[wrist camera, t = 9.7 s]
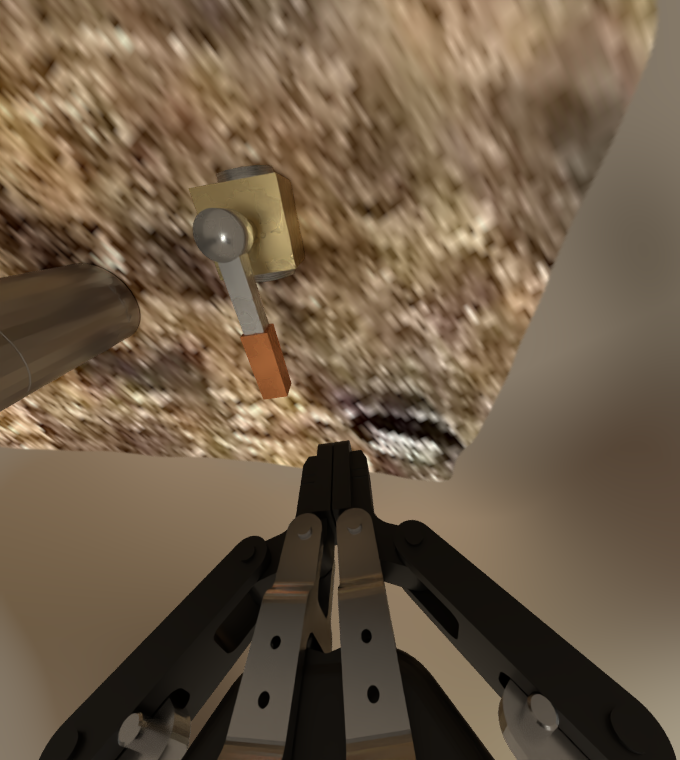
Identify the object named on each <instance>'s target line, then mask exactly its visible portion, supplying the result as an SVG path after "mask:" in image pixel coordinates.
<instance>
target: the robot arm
mask: <svg viewBox="0 0 680 760" xmlns="http://www.w3.org/2000/svg"><path fill="white" fill-rule="evenodd" d="M139 322H140V313H139V308H138V305H137V303H136V300H135V298H134V297H133V295H132V293H131V292H130V290H129V289H128V288H127V287H126V286H125V284H124V283H123V282H121V281H120V280H119V279H118V278H117V277H116V276H114V275H113V274H111V273H110V272H108V271H107V270H104V269H102V268H100V267H98V266H94V265H91V264H83V263H78V264H73V265H67V266H62V267H56V268H51V269H45V270H39V271H34V272H29V273H24V274H19V275H13V276H8V277H3V278H0V411H2V410H4V409H5V408H7V407H9V406H11V405H12V404H14V403H16V402H17V401H19V400H21V399H23V398H24V397H26V396H27V395H29V394H31V393H33V392H34V391H36V390H38V389H40V388H41V387H43V386H45V385H46V384H48V383H50V382H52V381H53V380H55V379H57V378H59V377H60V376H62V375H64V374H66V373H67V372H69V371H71V370H72V369H74V368H76V367H78V366H79V365H81V364H83V363H85V362H86V361H88V360H90V359H92V358H93V357H95V356H97V355H98V354H100V353H102V352H104V351H105V350H107V349H109V348H111V347H113V346H114V345H116V344H118V343H119V342H121V341H123V340H125V339H126V338H128V337H130V336H131V335H132V334H134V332H135V331H136V330H137V328H138V325H139ZM335 545H337V546H338V560H339V561H338V562H339V577H340V585H339V587H338V608H339V623H340V643H341V648H339V649H337V650H334V651H332V631H331V612H332V599H333V587H334V574H335V560H334V548H335ZM384 582H387V583H391V584H394V585H397V586H400V587H402V588H403V589H404V591H405V592H406V593H407V594H408V595H409V596H410V597H411V599H412V600H413V601H414V602H415V603H416V604H417V605H418V606H419V607H420V609H421V610H422V611H423V612H424V613H425V614H426V615H427V616H428V617H429V619H430V620H431V621H432V622H433V623H434V624H435V625H436V626H437V627H438V629H439V630H440V631H441V632H442V633H443V634H444V635H445V636H446V637H447V638H448V639H449V641H450V642H451V643H452V644H453V645H454V646H455V647H456V648H457V650H458V651H459V652H460V653H461V654H462V655H463V656H464V657H465V658H466V660H467V661H468V662H469V663H470V664H471V665H472V666H473V667H474V668H475V669H476V671H477V672H478V673H479V674H480V675H481V676H482V677H483V678H484V679H485V681H486V682H487V683H488V684H489V685H490V686H491V687H492V688H493V689H494V691H495V692H496V693H497V694H498V695H499V696H500V697H501V700H500V703H499V710H498V716H499V723H500V728H501V731H502V734H503V737H504V739H505V741H506V743H507V745H508V747H509V748H510V750H511V751H512V753H513V754H514V756H515V757H516V758H517V760H676V756H675V753H674V750H673V748H672V745H671V743H670V741H669V739H668V737H667V735H666V733H665V732H664V730H663V729H662V727H661V726H660V724H659V723H658V721H657V720H656V719H655V717H653V715H652V714H651V713H650V712H649V711H648V709H646V707H645V706H643V704H641V703H640V702H639V701H638V700H637V699H636V698H634V697H633V696H632V695H631V694H630V693H628V692H627V691H626V690H625V689H624V688H622V687H621V686H620V685H619V684H618V683H616V682H615V681H614V680H613V679H612V678H610V677H609V676H608V675H607V674H605V673H604V672H603V671H602V670H601V669H600V668H598V667H597V666H596V665H595V664H593V663H592V662H591V661H590V660H589V659H587V658H586V657H585V656H584V655H583V654H581V653H580V652H579V651H578V650H577V649H575V648H574V647H573V646H572V645H570V644H569V643H568V642H567V641H566V640H564V639H563V638H562V637H561V636H560V635H558V634H557V633H556V632H555V631H554V630H552V629H551V628H550V627H549V626H547V625H546V624H545V623H544V622H542V621H541V620H540V619H539V618H538V617H537V616H535V615H534V614H533V613H532V612H530V611H529V610H528V609H527V608H526V607H524V606H523V605H522V604H521V603H520V602H518V601H517V600H516V599H515V598H514V597H512V596H511V595H510V594H509V593H508V592H506V591H505V590H504V589H503V588H501V587H500V586H499V585H498V584H496V583H495V582H494V581H493V580H492V579H490V578H489V577H488V576H487V575H486V574H485V573H483V572H482V571H481V570H480V569H478V568H477V567H476V566H475V565H474V564H472V563H471V562H470V561H469V560H467V559H466V558H465V557H464V556H463V555H461V554H460V553H459V552H458V551H457V550H456V549H454V548H453V547H452V546H451V545H449V544H448V543H447V542H446V541H445V540H443V539H442V538H441V537H440V536H439V535H437V534H436V533H435V532H434V531H432V530H431V529H430V528H429V527H428V526H426V525H425V524H424V523H422V522H419V521H415V520H408V521H405V522H403V523H401V524H400V525H399V526H398V525H394V524H389V523H386V522H384V521H382V520H380V519H379V518H378V517H377V516H376V515H375V514H374V508H373V499H372V490H371V481H370V475H369V469H368V464H367V458H366V456H365V455H364V454H363V452H362V451H361V450H358V451H352V450H351V445H350V441H349V440H348V441H341V442H334V443H326V444H319V445H318V450H317V456H312V457H308V459H307V461H306V462H305V464H304V466H303V471H302V479H301V486H300V492H299V499H298V505H297V513H296V517H295V519H294V520H293V521H292V522H291V523H290V524H289V527H288V529H287V530H286V531H285V532H283V533H282V534H280V535H278V536H276V537H273V538H271V539H269V540H267V541H264V539H263V538H261V537H259V536H250V537H248V538H245V539H243V540H242V541H241V542H240V543H238V545H236V546H235V547H234V549H233V550H232V551H231V552H230V553H229V554H228V555H227V556H226V557H225V558H224V559H223V560H222V561H221V562H220V563H219V564H218V565H217V566H216V567H215V568H214V569H213V570H212V571H211V572H210V573H209V574H208V575H207V576H206V578H204V579H203V580H202V581H201V583H199V584H198V586H197V587H196V588H195V589H194V590H193V591H192V592H191V593H190V594H189V595H188V596H187V597H186V598H185V599H184V600H183V601H182V602H181V603H180V604H179V605H178V606H177V607H176V608H175V609H174V610H173V611H172V612H171V613H170V614H169V615H168V617H166V618H165V619H164V620H163V622H162V623H161V624H160V625H159V626H158V627H157V628H156V629H155V630H154V631H153V632H152V633H151V634H150V635H149V636H148V637H147V638H146V639H145V640H144V641H143V642H142V643H141V644H140V645H139V646H138V647H137V648H136V649H135V650H134V651H133V652H132V653H131V654H130V655H129V656H128V657H127V658H126V660H125V661H124V662H123V663H122V664H121V665H120V666H119V667H118V668H117V669H116V670H115V671H114V672H113V673H112V674H111V675H110V676H109V677H108V678H107V679H106V680H105V681H104V682H103V683H102V684H101V685H100V686H99V687H98V688H97V689H96V690H95V691H94V693H92V694H91V696H90V697H89V698H88V699H87V700H86V701H85V702H84V703H83V704H82V705H81V706H80V707H79V708H78V709H77V710H76V711H75V712H74V713H73V714H72V715H71V716H70V717H69V718H68V719H67V720H66V721H65V722H64V723H63V724H62V726H61V727H60V728H59V729H58V730H57V731H56V733H55V734H54V735H53V736H52V738H51V739H50V741H49V742H48V744H47V745H46V747H45V749H44V751H43V752H42V754H41V757H40V759H39V760H495V759H494V758H493V757H492V755H491V754H490V753H489V752H488V750H487V749H486V747H485V746H484V745H483V743H482V742H481V741H480V739H479V738H478V737H477V735H476V734H475V732H474V731H473V730H472V729H471V727H470V726H469V724H468V723H467V722H466V720H465V719H464V718H463V716H462V715H461V714H460V712H459V711H458V710H457V708H456V707H455V706H454V704H453V703H452V702H451V700H450V699H449V698H448V696H447V695H446V694H445V692H444V691H443V689H442V688H441V687H440V685H439V684H438V683H437V681H436V680H435V679H434V677H433V676H432V675H431V673H430V672H429V671H428V670H427V669H426V668H425V667H424V666H423V665H422V664H421V663H420V662H419V661H417V660H416V659H415V658H414V657H412V656H411V655H409V654H408V653H406V652H404V651H402V650H400V649H397V648H396V643H395V637H394V632H393V627H392V621H391V616H390V611H389V606H388V601H387V595H386V589H385V584H384ZM251 641H252V642H251ZM250 642H251V646H250V650H249V653H248V657H247V661H246V665H245V669H244V672H243V673H242V674H241V675H240V676H239V677H238V679H237V680H236V681H235V682H234V683H233V685H232V686H231V688H230V689H229V690H228V692H227V693H226V695H225V696H224V698H223V699H222V701H221V702H220V704H219V705H218V706H217V708H216V710H215V711H214V712H213V714H212V715H211V717H210V718H209V719H208V721H207V722H206V724H205V726H204V727H203V728H202V730H201V731H200V733H199V734H198V736H197V737H196V739H195V740H194V741H193V743H192V744H191V746H190V747H189V749H188V744H189V737H190V731H191V721H192V720H193V718H194V717H195V716H196V714H197V713H198V712H199V710H200V709H201V708H202V706H203V705H204V704H205V702H206V701H207V699H208V698H209V697H210V696H211V694H212V693H213V692H214V690H215V689H216V688H217V686H218V685H219V683H220V682H221V681H222V680H223V678H224V677H225V676H226V674H227V673H228V672H229V670H230V669H231V668H232V666H233V665H234V663H235V662H236V661H237V659H238V658H239V657H240V656H241V654H242V653H243V651H244V650H245V649H246V648H247V646H248V645H249V644H250ZM187 749H188V750H187ZM186 751H187V752H186Z"/></svg>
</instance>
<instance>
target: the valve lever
mask: <svg viewBox="0 0 680 760" xmlns="http://www.w3.org/2000/svg"><path fill="white" fill-rule="evenodd" d="M193 236H194V239H195V242H196V244H197V246H198V248H199V249H200V251H201V252H202V253H203V254H204V255H205V256H206V257H208V258H209V259H211V260H213V261H215V262H218V265H219V268H220V270H221V273H222V276H223V279H224V281H225V284H226V287H227V289H228V292H229V295H230V298H231V300H232V303H233V306H234V309H235V311H236V314H237V317H238V319H239V322H240V325H241V328H242V330H243V335H242V336H241V337H240V338H241V341H242V344H243V346H244V349H245V352H246V354H247V357H248V360H249V362H250V365H251V368H252V370H253V373H254V375H255V378H256V381H257V383H258V386H259V389H260V391H261V394H262V397H263V399H271V398H278V397H285V396H288V393H289V389H290V386H291V380H290V377H289V374H288V370H287V367H286V364H285V361H284V357H283V354H282V351H281V348H280V344H279V341H278V338H277V334H276V331H275V328H274V325H273V324H269V323H268V319H267V316H266V313H265V310H264V307H263V303H262V300H261V297H260V294H259V291H258V288H257V284H256V281H255V278H254V275H253V272H252V268H251V265H250V262H249V259H248V256H247V253H248V252H249V251H250V249H251V247H252V244H253V231H252V228H251V225H250V223H249V222H248V220H247V219H246V218H245V217H244V216H243V215H242V214H241V213H240V212H238V211H236V210H234V209H229V208H207V209H204V210H202V211H201V212H200V213H199V214H198V215H197V216H196V218H195V220H194V223H193Z"/></svg>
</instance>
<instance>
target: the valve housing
mask: <svg viewBox="0 0 680 760" xmlns="http://www.w3.org/2000/svg"><path fill="white" fill-rule="evenodd" d="M216 177H217V180H218V183H215V184H210V185H205V186H199V187H194V188H189V191H190V194H191V197H192V200H193V202H194V205H195V208H196V211H197V214H199V213H200V212H201V211H202V210H204V209H207V208H229V209H234V210H236V211H238V212H240V213H241V214H242V215H243V216H244V217H245V218H246V219H247V220H248V222H249V223H250V225H251V228H252V231H253V244H252V247H251V249H250V251H249V252H248V253H247V256H248V259H249V262H250V265H251V268H252V272H253V275H254V278H255V281H256V283H257V282H266V281H272V280H277V279H281V278H284V277H288V276H290V275H293V274H294V273H295V269H296V268H297V267H298V266H299V265H300V263H301V262H302V261H303V260H304V259H305V254H304V249H303V243H302V238H301V233H300V228H299V223H298V218H297V212H296V207H295V202H294V197H293V192H292V187H291V181H290V180H288V179H286V178H284V177H283V176H281V175H279V174H277V173H276V172H275V173H274V171H273V167H272V166H267V165H256V166H245V167H239V168H233V169H229V170H225V171H222V172H220V173H218V174H216ZM214 263H215V266H216V268H217V271H218V274H219V277H220V280H224V279H223V276H222V273H221V270H220V268H219V265H218V262H215V261H214Z"/></svg>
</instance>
